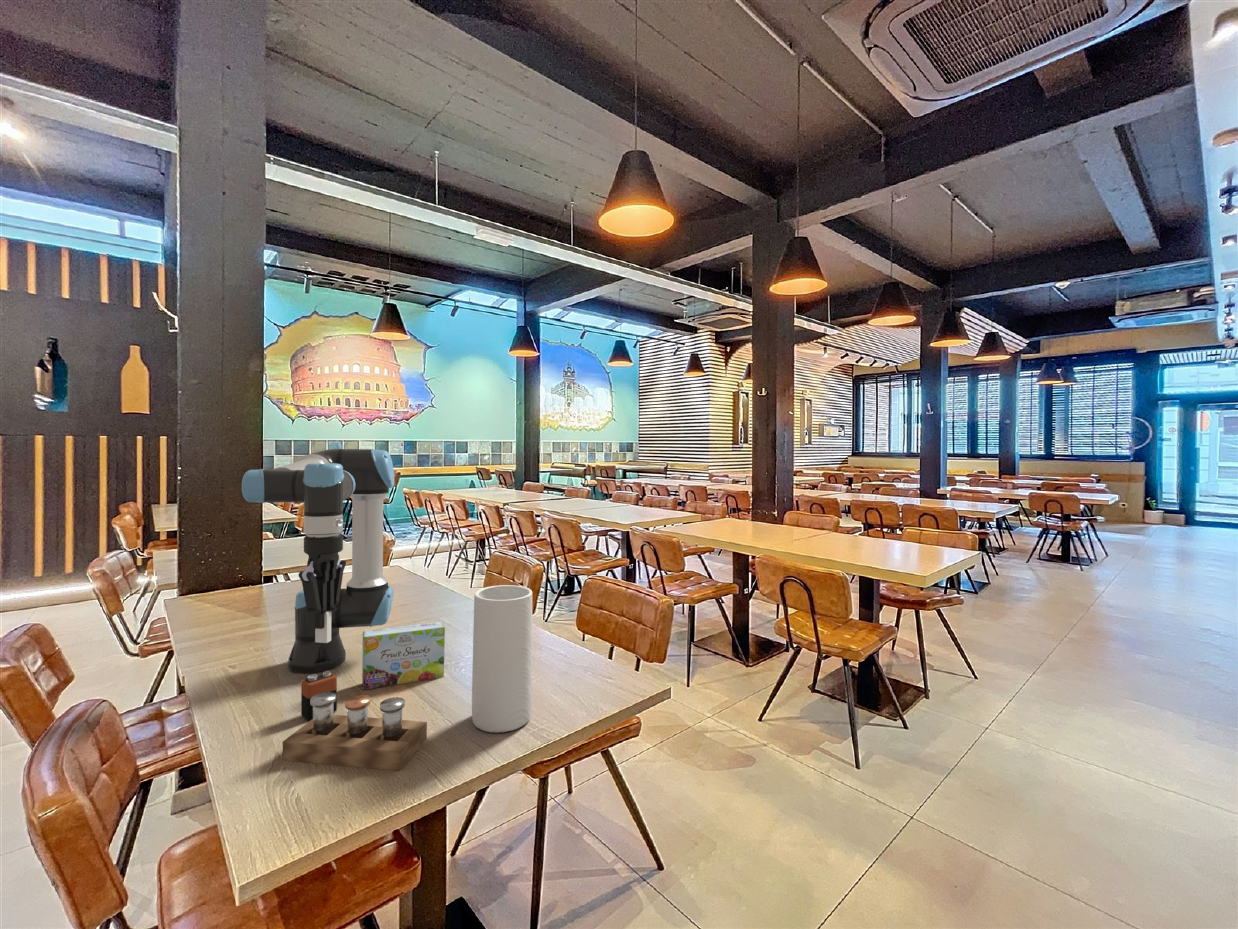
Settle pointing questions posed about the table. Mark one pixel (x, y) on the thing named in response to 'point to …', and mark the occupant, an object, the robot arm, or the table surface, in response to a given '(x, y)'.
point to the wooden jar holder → (355, 744)
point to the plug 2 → (392, 716)
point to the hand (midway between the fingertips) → (323, 641)
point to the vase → (502, 658)
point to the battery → (316, 691)
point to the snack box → (403, 654)
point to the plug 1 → (323, 710)
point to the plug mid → (357, 713)
